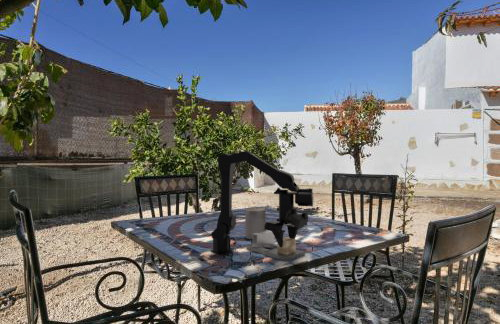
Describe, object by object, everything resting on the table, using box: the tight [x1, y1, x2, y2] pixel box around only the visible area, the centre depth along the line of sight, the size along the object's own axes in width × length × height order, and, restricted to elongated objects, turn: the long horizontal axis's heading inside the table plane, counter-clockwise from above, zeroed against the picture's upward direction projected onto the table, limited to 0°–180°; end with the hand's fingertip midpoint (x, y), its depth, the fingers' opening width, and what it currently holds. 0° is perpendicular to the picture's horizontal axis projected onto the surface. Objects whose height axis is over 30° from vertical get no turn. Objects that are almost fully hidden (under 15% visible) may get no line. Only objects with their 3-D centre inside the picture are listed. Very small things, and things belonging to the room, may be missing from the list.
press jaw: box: [251, 230, 275, 248], centre depth 149 cm, size 10×3×5 cm, turn 131°
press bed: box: [245, 243, 306, 262], centre depth 145 cm, size 11×22×2 cm, turn 42°
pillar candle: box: [244, 205, 267, 240], centre depth 171 cm, size 10×10×15 cm
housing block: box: [276, 236, 297, 255], centre depth 140 cm, size 5×5×5 cm
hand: (286, 245), depth 140 cm, fingers open, 6 cm apart
